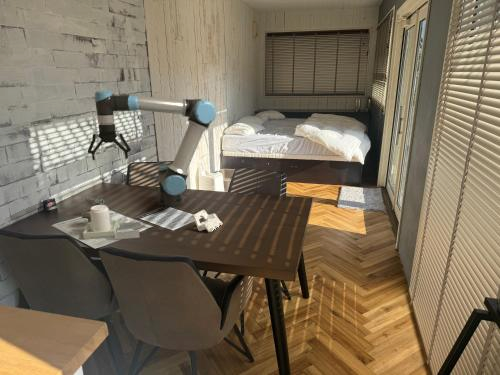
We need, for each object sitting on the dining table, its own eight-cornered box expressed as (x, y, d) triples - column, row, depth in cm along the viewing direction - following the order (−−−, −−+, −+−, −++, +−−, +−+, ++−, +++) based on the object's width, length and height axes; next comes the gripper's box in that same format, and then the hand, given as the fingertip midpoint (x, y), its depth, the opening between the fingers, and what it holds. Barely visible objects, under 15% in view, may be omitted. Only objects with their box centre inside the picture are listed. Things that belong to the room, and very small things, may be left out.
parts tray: (118, 225, 176) (118, 219, 175) (115, 236, 163) (114, 230, 162) (89, 227, 172) (89, 222, 172) (83, 239, 160) (83, 233, 159)
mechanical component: (103, 217, 184) (101, 200, 181) (86, 216, 186) (84, 198, 183) (107, 215, 187) (105, 198, 184) (90, 214, 189) (87, 197, 186)
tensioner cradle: (141, 227, 174) (140, 221, 173) (139, 237, 162) (138, 231, 162) (120, 228, 171) (119, 223, 170) (116, 239, 160) (116, 233, 159)
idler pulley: (99, 221, 179) (97, 208, 177) (96, 227, 173) (95, 213, 171) (84, 222, 178) (82, 209, 176) (81, 228, 171) (79, 215, 169)
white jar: (100, 235, 162) (97, 211, 159) (89, 231, 166) (85, 208, 162) (114, 229, 169) (111, 206, 165) (103, 225, 173) (100, 203, 169)
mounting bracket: (214, 226, 180) (207, 207, 179) (223, 224, 176) (216, 205, 175) (200, 235, 170) (192, 215, 169) (210, 233, 166) (202, 212, 165)
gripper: (133, 122, 176) (137, 162, 182) (80, 123, 170) (86, 165, 177) (132, 124, 169) (136, 166, 175) (77, 125, 163) (83, 168, 170)
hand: (111, 165), depth 176 cm, fingers open, 13 cm apart
